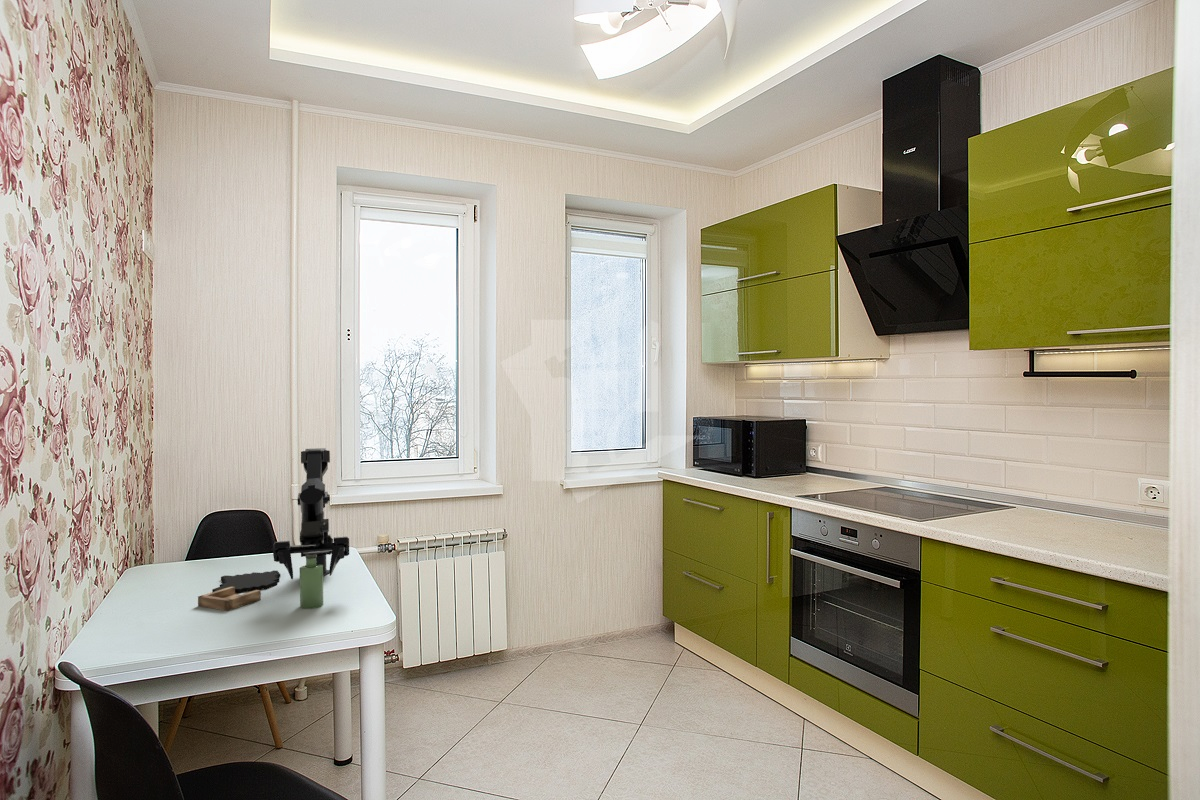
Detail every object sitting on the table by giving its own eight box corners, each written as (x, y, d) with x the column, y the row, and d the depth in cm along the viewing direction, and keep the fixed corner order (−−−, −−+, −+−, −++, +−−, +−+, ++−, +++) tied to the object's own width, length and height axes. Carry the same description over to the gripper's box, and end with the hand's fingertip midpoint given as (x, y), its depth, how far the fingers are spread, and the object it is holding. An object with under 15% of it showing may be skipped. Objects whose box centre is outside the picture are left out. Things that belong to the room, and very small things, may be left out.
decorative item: (242, 569, 215) (300, 571, 211) (242, 574, 215) (300, 576, 211) (184, 589, 192) (247, 593, 188) (184, 595, 192) (247, 598, 188)
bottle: (306, 601, 183) (306, 551, 183) (327, 602, 183) (326, 551, 183) (295, 608, 178) (295, 556, 178) (316, 608, 177) (316, 556, 177)
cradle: (231, 595, 190) (231, 586, 190) (260, 599, 186) (260, 590, 186) (198, 606, 181) (197, 596, 181) (228, 610, 177) (228, 600, 177)
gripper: (272, 511, 182) (269, 562, 171) (348, 506, 188) (349, 555, 178) (276, 536, 189) (272, 586, 179) (348, 530, 195) (349, 579, 185)
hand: (311, 576), depth 180 cm, fingers open, 9 cm apart
